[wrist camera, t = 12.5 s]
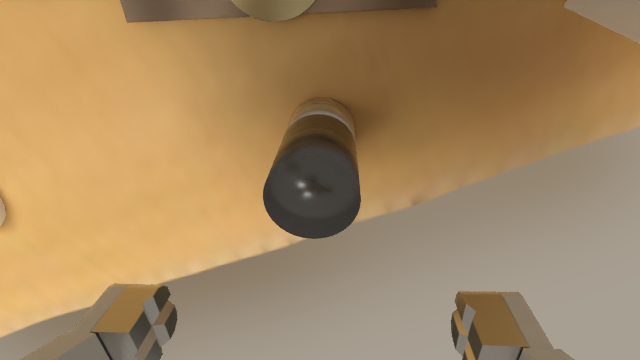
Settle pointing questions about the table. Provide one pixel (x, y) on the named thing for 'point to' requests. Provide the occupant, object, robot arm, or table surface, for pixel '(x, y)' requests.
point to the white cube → (611, 15)
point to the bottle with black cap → (315, 172)
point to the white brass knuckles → (2, 212)
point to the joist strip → (253, 8)
